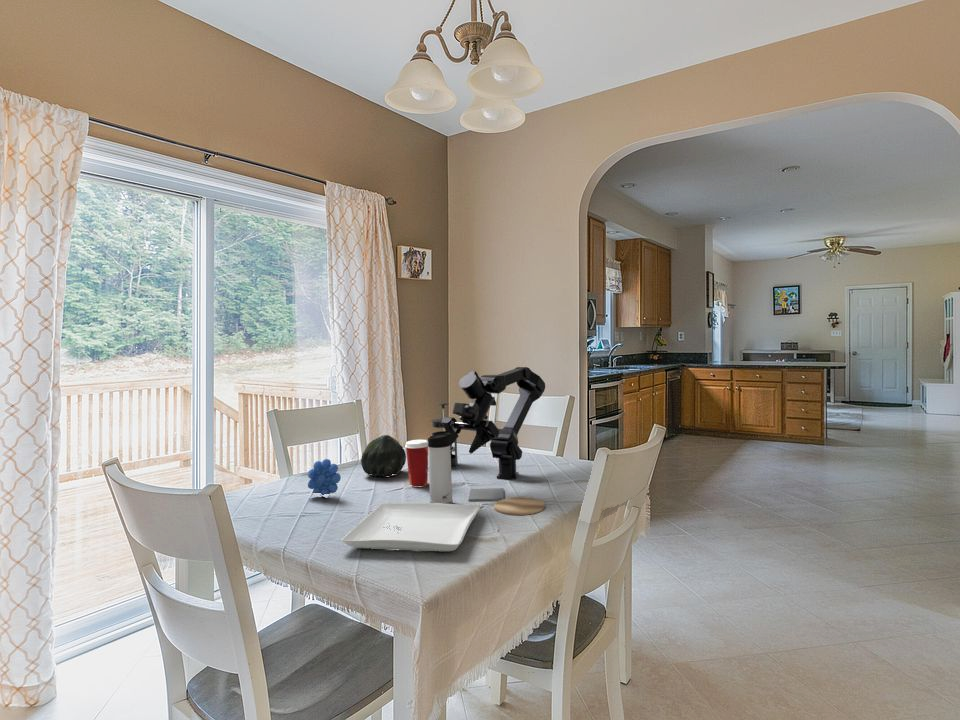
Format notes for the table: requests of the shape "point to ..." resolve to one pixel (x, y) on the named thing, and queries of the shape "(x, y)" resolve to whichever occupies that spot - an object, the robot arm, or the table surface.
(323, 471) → the blue lobed thick disc
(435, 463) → the travel mug
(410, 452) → the paper cup
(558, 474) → the table surface
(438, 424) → the french press
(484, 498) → the stone coaster
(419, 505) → the square plate
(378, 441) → the squash
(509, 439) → the robot arm
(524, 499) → the cork trivet
